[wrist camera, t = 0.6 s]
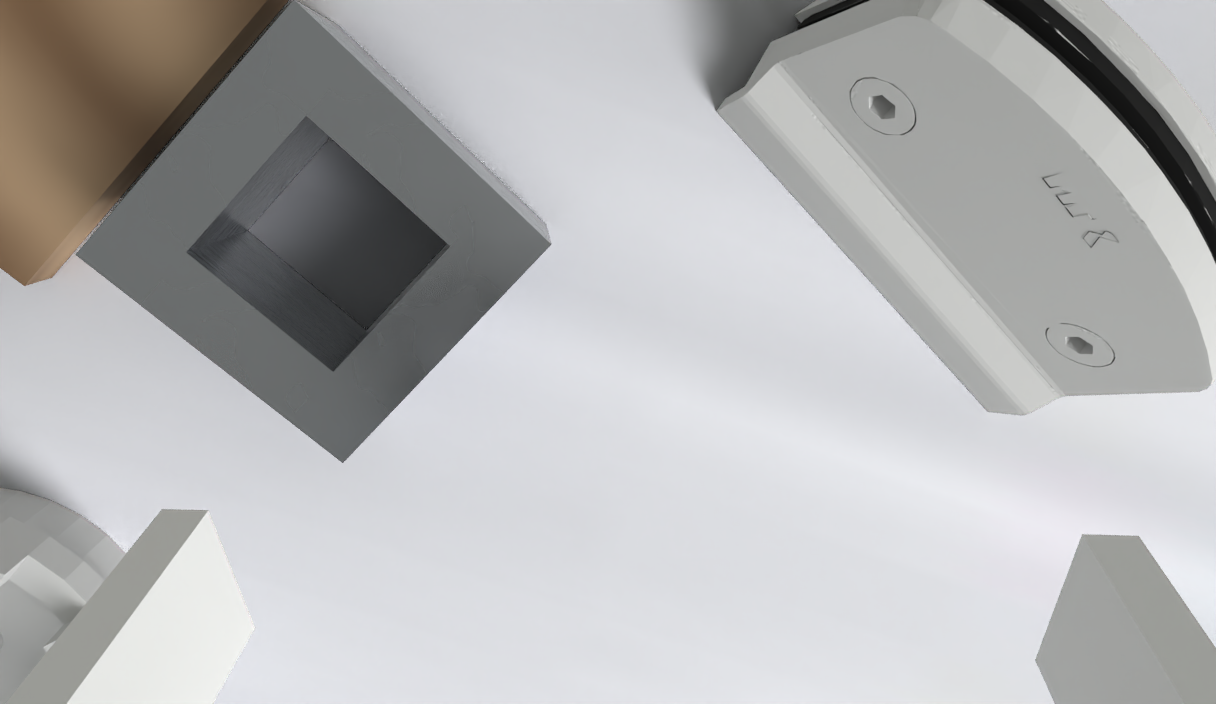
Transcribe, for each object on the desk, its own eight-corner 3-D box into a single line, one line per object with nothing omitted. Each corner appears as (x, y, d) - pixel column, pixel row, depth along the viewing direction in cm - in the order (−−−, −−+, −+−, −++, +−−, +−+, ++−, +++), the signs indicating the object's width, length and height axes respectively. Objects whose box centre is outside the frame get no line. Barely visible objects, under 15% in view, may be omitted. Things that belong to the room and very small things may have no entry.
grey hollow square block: (373, 407, 28) (342, 463, 23) (158, 232, 26) (75, 254, 21) (546, 224, 27) (551, 244, 22) (338, 25, 25) (293, -1, 20)
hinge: (708, 102, 27) (916, -28, 17) (789, 10, 28) (1027, -161, 18) (993, 418, 31) (1284, 452, 22) (1055, 328, 32) (1358, 323, 23)
